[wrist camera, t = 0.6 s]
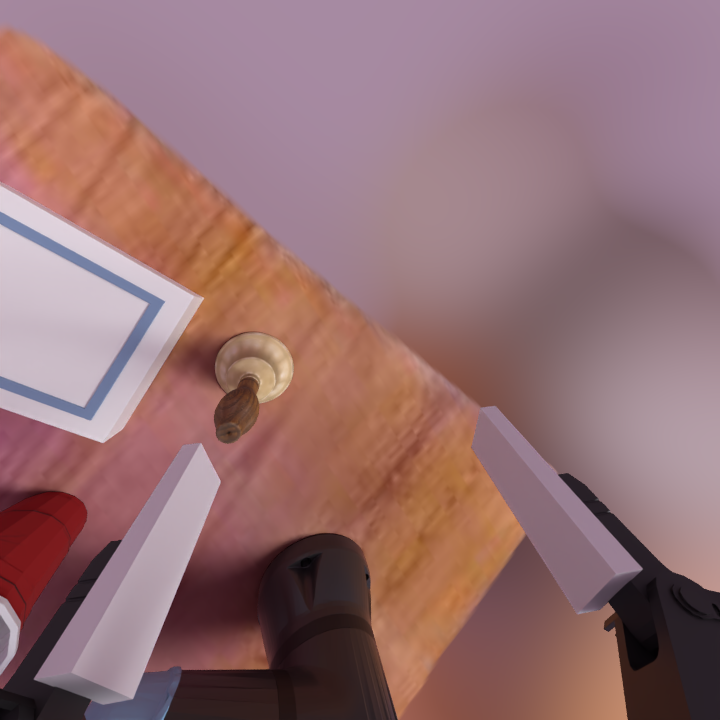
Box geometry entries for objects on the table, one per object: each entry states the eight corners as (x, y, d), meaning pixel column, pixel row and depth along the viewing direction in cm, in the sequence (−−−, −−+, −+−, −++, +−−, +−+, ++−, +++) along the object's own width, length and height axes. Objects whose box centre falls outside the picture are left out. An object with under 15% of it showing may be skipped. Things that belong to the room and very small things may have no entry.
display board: (122, 429, 26) (101, 444, 23) (-92, 350, 21) (-156, 356, 18) (204, 298, 26) (193, 296, 23) (10, 186, 21) (-37, 164, 18)
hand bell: (308, 363, 30) (331, 414, 15) (261, 416, 30) (239, 520, 15) (250, 316, 28) (209, 321, 13) (198, 373, 27) (92, 449, 12)
